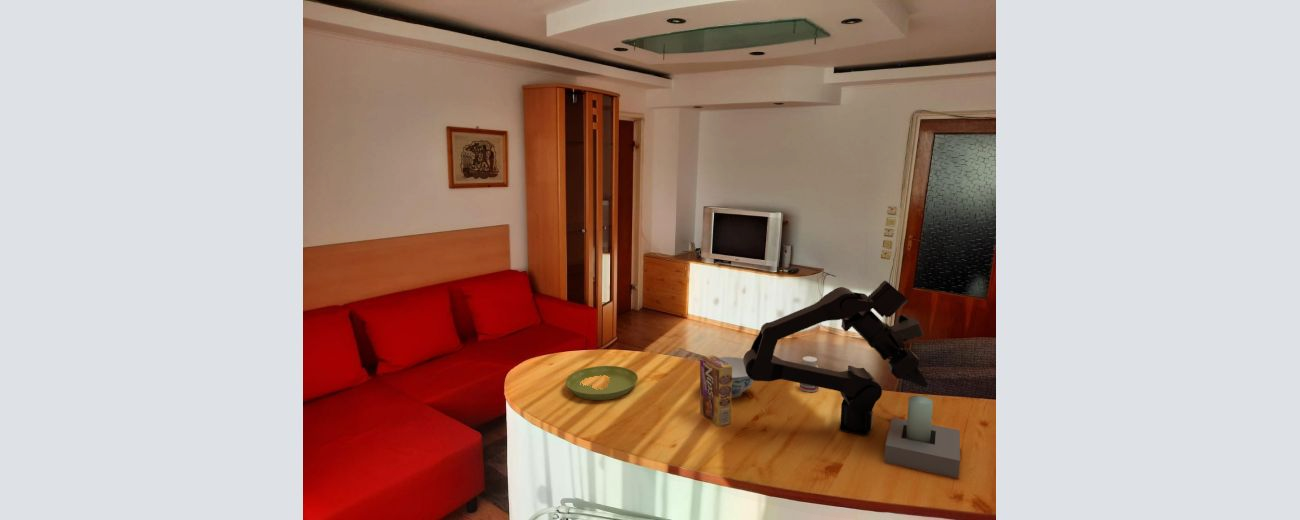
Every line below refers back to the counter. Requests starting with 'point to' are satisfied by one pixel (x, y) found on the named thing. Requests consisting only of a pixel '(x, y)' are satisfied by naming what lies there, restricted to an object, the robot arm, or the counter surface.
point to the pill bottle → (810, 362)
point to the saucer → (618, 386)
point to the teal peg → (919, 419)
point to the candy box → (715, 390)
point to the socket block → (924, 449)
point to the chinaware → (738, 375)
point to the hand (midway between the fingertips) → (920, 377)
